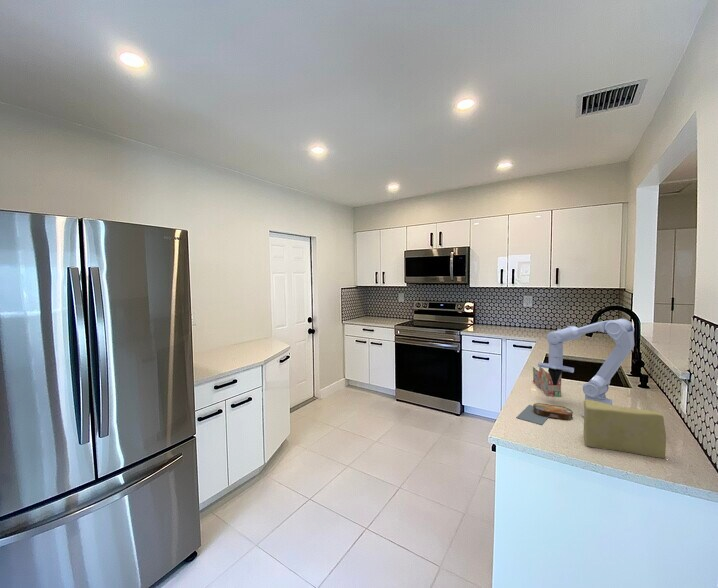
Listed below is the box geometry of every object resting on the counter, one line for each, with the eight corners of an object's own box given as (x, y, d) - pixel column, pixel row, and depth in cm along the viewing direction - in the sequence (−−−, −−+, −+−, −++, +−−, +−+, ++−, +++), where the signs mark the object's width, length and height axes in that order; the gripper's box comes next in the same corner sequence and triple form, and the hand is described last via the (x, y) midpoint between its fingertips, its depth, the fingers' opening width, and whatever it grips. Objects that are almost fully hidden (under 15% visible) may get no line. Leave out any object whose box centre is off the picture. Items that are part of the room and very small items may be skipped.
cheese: (660, 451, 110) (662, 408, 109) (669, 465, 102) (671, 420, 101) (583, 435, 122) (583, 397, 121) (585, 446, 113) (586, 406, 113)
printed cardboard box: (532, 382, 181) (533, 361, 181) (544, 383, 180) (544, 361, 180) (547, 396, 160) (548, 372, 160) (561, 397, 159) (561, 373, 159)
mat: (553, 411, 143) (553, 410, 143) (542, 425, 130) (542, 424, 130) (528, 405, 150) (529, 404, 150) (516, 418, 137) (516, 417, 137)
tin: (534, 409, 138) (532, 400, 146) (534, 416, 139) (531, 407, 146) (575, 415, 132) (570, 406, 140) (574, 422, 133) (569, 413, 141)
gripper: (536, 355, 152) (535, 383, 153) (572, 360, 142) (571, 390, 143) (540, 352, 157) (540, 379, 158) (575, 357, 147) (574, 386, 148)
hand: (555, 384), depth 151 cm, fingers closed
